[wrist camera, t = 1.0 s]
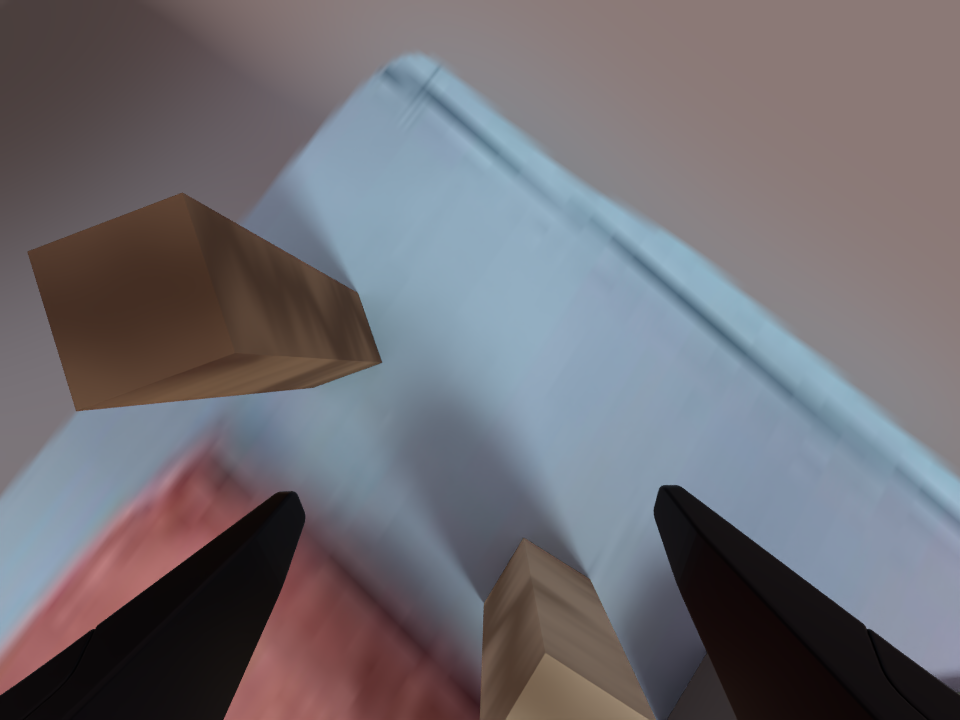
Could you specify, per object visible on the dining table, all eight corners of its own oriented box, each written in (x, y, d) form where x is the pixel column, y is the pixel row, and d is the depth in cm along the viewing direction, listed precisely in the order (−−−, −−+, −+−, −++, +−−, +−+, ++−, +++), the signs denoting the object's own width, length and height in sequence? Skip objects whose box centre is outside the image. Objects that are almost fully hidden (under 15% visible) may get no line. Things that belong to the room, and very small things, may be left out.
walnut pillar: (382, 362, 23) (235, 353, 10) (312, 387, 23) (76, 410, 10) (358, 293, 23) (182, 192, 10) (289, 318, 23) (26, 251, 10)
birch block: (550, 646, 22) (591, 840, 13) (483, 603, 22) (478, 764, 13) (590, 579, 22) (659, 726, 13) (523, 537, 22) (545, 652, 13)
